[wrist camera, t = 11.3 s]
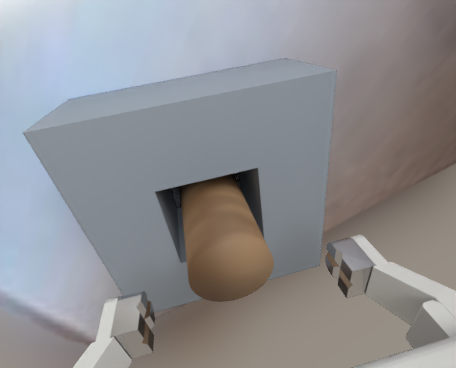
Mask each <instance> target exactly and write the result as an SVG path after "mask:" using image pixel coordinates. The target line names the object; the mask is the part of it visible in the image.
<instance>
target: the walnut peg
mask: <svg viewBox="0 0 456 368" xmlns="http://www.w3.org/2000/svg"><path fill="white" fill-rule="evenodd" d="M179 187H180V197H181V208H182V218H183V228H184V239H185V249H186V260H187V270H188V280H189V285H190V287H191V289H192V291H193V292H194V293H195V294H196V295H198V296H199V297H201V298H203V299H206V300H211V301H231V300H235V299H239V298H242V297H244V296H247V295H249V294H251V293H253V292H254V291H256V290H257V289H259V288H260V287H261V286H262V285H263V284H264V283H265V282H266V281H267V280H268V278H269V277H270V275H271V273H272V271H273V267H274V260H273V257H272V254H271V252H270V250H269V248H268V246H267V244H266V242H265V240H264V237H263V235H262V233H261V231H260V229H259V227H258V225H257V223H256V221H255V219H254V217H253V214H252V212H251V210H250V208H249V206H248V204H247V202H246V200H245V198H244V196H243V194H242V192H241V189H240V187H239V185H238V183H237V181H236V179H235V177H234V175H233V174H229V175H225V176H220V177H216V178H212V179H208V180H203V181H199V182H195V183H190V184H186V185H182V186H179Z"/></svg>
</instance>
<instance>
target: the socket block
mask: <svg viewBox="0 0 456 368" xmlns="http://www.w3.org/2000/svg"><path fill="white" fill-rule="evenodd" d="M336 75H337V70H334V69H330V68H326V67H321V66H317V65H313V64H308V63H304V62H300V61H295V60H291V59H287V58H284V59H279V60H274V61H268V62H263V63H258V64H252V65H247V66H242V67H237V68H231V69H226V70H221V71H216V72H210V73H205V74H200V75H194V76H189V77H184V78H179V79H173V80H168V81H163V82H157V83H152V84H147V85H142V86H136V87H131V88H126V89H121V90H115V91H110V92H105V93H99V94H94V95H89V96H84V97H78V98H73V99H69V100H67V101H66V102H64V103H63V104H62V105H60V106H59V107H57V108H56V109H55V110H53V111H52V112H51V113H49V114H48V115H46V116H45V117H44V118H42V119H41V120H40V121H38V122H37V123H35V124H34V125H33V126H31V127H30V128H28V129H27V130H26V131H24V132H23V134H24V136H25V137H26V139H27V141H28V142H29V144H30V145H31V147H32V149H33V150H34V152H35V153H36V155H37V157H38V158H39V160H40V162H41V163H42V165H43V166H44V168H45V170H46V171H47V173H48V175H49V176H50V178H51V179H52V181H53V183H54V184H55V186H56V188H57V189H58V191H59V192H60V194H61V196H62V197H63V199H64V200H65V202H66V204H67V205H68V207H69V209H70V210H71V212H72V213H73V215H74V217H75V218H76V220H77V222H78V223H79V225H80V226H81V228H82V230H83V231H84V233H85V234H86V236H87V238H88V239H89V241H90V243H91V244H92V246H93V247H94V249H95V251H96V252H97V254H98V256H99V257H100V259H101V260H102V262H103V264H104V265H105V267H106V268H107V270H108V272H109V273H110V275H111V277H112V278H113V280H114V281H115V283H116V285H117V286H118V288H119V290H120V291H121V293H122V294H123V296H125V295H129V294H134V293H138V292H142V291H145V292H146V294H147V300H148V301H151V303H152V305H153V309H154V313H155V312H158V311H162V310H165V309H169V308H172V307H176V306H179V305H183V304H186V303H190V302H193V301H197V300H201V299H203V298H201V297H199V296H198V295H196V294H195V293H194V292H193V291H192V289H191V287H190V285H189V280H188V270H187V260H186V249H185V239H184V228H183V218H182V208H181V207H178V208H177V206H176V203H175V200H174V197H173V194H172V191H171V188H173V187H178V186H182V185H186V184H190V183H195V182H199V181H203V180H208V179H212V178H216V177H220V176H225V175H229V174H233V173H237V172H239V179H240V186H241V192H242V194H243V196H244V198H245V200H246V202H247V204H248V206H249V208H250V210H251V212H252V214H253V217H254V219H255V221H256V223H257V225H258V227H259V229H260V231H261V233H262V235H263V237H264V240H265V242H266V244H267V246H268V248H269V250H270V252H271V254H272V257H273V260H274V267H273V271H272V273H271V275H270V277H269V278H268V280H271V279H274V278H277V277H282V276H285V275H288V274H292V273H296V272H299V271H302V270H306V269H310V268H313V267H317V266H320V258H321V257H320V256H321V247H322V235H323V224H324V212H325V201H326V189H327V178H328V166H329V155H330V144H331V132H332V121H333V109H334V98H335V86H336Z"/></svg>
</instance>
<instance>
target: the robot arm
mask: <svg viewBox="0 0 456 368" xmlns="http://www.w3.org/2000/svg"><path fill="white" fill-rule="evenodd" d="M327 250H328V251H329V252H328V253H327V255H326V265H327V268H328V270H329V272H330V273H331V275H332V276H333V277H335V278H336V279H338V286H339V287H340V289H341V290H342V292H343V293H344V295H345V297H346V298H349V297H353V296H357V295H361V294H365V293H366V294H365V295H367V296H368V297H370V298H371V299H372V300H374V301H375V302H377V303H378V304H380V305H382V306H383V307H385V308H386V309H387V310H389V311H390V312H392V313H393V314H395V315H396V316H398V317H399V318H401V319H402V320H404V321H405V322H407V323H408V324H410V325H411V327H410V329H409V331H408V333H407V336H406V339H407V341H408V342H409V343H410V345H411V346H412V347H413V349H411V350H408V351H404V352H401V353H398V354H394V355H391V356H388V357H385V358H382V359H379V360H375V361H372V362H368V363H365V364H362V365H359V366H355V367H352V368H456V291H455V290H452V289H450V288H448V287H446V286H444V285H441V284H439V283H437V282H435V281H433V280H430V279H428V278H426V277H424V276H422V275H419V274H417V273H415V272H413V271H411V270H408V269H406V268H404V267H402V266H400V265H397V264H395V263H393V262H387V261H386V260H385V259H384V258H383V257H382V255H381V254H380V253H379V252H378V251H377V250H376V249H375V248H374V247H373V246H372V245H371V244H370V243H369V242H368V241H367V239H366V238H365V237H364V236H362V235H357V236H353V237H350V238H345V239H341V240H337V241H334V242H330V243H328V244H327ZM154 322H155V316H154V309H153V305H152V303H151V301H148V300H147V294H146V292H145V291H142V292H138V293H134V294H129V295H125V296H121V297H117V298H113V299H109V300H106V302H105V304H104V307H103V311H102V315H101V320H100V324H99V328H98V332H97V337H96V341H95V342H93V343H91V344H90V346H89V347H88V348H87V350H86V351H85V352H84V354H83V355H82V356H81V358H80V359H79V360H78V362H77V363H76V364H75V365H74V367H73V368H129V365H130V364H131V362H132V359H134V358H137V357H140V356H143V355H147V354H150V353H153V343H154V335H153V333H152V331H151V329H152V327H153V326H154Z"/></svg>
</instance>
